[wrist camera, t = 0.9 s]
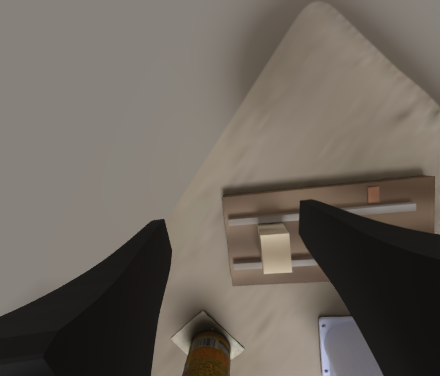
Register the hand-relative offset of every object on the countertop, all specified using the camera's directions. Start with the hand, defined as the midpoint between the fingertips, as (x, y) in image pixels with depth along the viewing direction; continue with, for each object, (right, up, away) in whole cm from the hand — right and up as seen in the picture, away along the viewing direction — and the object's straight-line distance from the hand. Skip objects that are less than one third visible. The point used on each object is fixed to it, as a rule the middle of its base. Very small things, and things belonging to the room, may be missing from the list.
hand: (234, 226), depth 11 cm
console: (+12, -4, +16) cm, 20 cm away
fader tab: (+6, -5, +15) cm, 16 cm away
